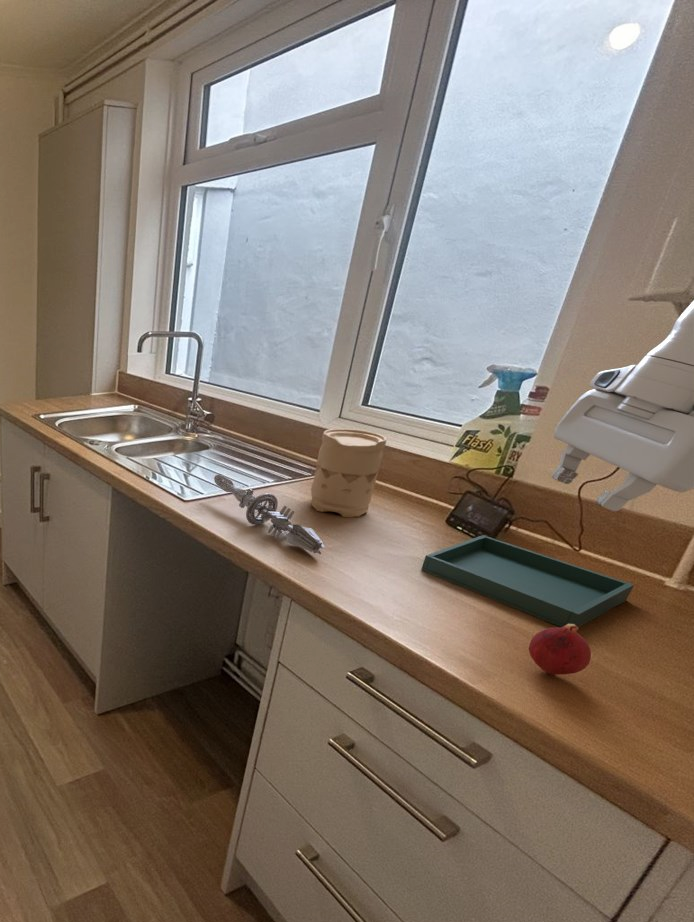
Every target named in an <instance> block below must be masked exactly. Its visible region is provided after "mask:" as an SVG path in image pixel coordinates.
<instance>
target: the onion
mask: <svg viewBox="0 0 694 922" xmlns="http://www.w3.org/2000/svg"><path fill="white" fill-rule="evenodd" d="M579 629H580V628H579V627H577V626H576V625H575V624H567V625H565V626H563V627H549V628H545V629H543V630H541V631H538V632H536V634H534V635H533V636H532V638H531V640H530V641H529V644H528V653H529V655H530V658H531V659H532V661H533V662H534V663H535V665H536V666H538V667H539V669H541V671H543V672H545V673H546V674H548V675H552V676H557V675H570V674H571V675H572V674H576V673H579V672H581V671H583V670H585V669H586V668H587V667H588V666H589V664H590V663H591V658H592V657H591V656H592V651H591V647H590V645H589V643H588V642H587V640H586V639H585V638H584V637H583V636H582V635H581V634H579V633H578V631H579Z"/></svg>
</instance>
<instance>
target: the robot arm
mask: <svg viewBox="0 0 694 922" xmlns="http://www.w3.org/2000/svg"><path fill="white" fill-rule="evenodd" d="M589 386H590V387H591V388H593V389H590V390H588V391H586V392H584V393H583V394H582V395H580V397H579V398H578V399H577V400H576V401H575V402H574V403H573V404H572V406H571V407H570V408H569V409H568V410H567V412H566V413H565V414H564V416H563V417H562V418H561V419H560V421H559V422H558V423H557V425H556V426H555V429H554V433H553V438H554V439H556V440H558V441H560V442H562V443H565V444H567V446H566V447H565V448H564V449H563V450H562V451H561V455H560V459H559V462H558V466H557V467H556V468H555V469H554V470H553V471H552V473H551V474H550V478H552V479H554V480H555V481H557V482H560V483H562V484H564V485H569V484H571V483H572V482H573V480H574V479H576V478H577V477H578V476H579V473H578V472H577V470H578V468H579V467H580V464H581V462H582V460H583V461H586V460H587V459H588V458H589V456H593V457H595V458H598V459H600V460H602V461H603V462H606V463H609V464H611V465H612V466H615V467H618V468H619V469H621V470H624V471H626V472H628V474H627V475H626V476H625V477H624V478H623V479H622V482H624V483H623V484H621V485H620V486H618V487H616V488H614V489H612V490H611V491H609V490H607V489H605V490H604V491H603V492H602V493H601V494H600V496H599V497H597V499H596V500H595V502H596V504H597V505H599V506H600V507H602V508H605V509H606V510H609V511H612V512H618V511H621V509H622V508H623V507H624V506H625V505H626V504H628V502H629V501H632V500H634V499H637V498H638V497H642V496H644V495H645V494H647V493H650V492H651V491H652V490H653V489H654V488H655V487H656V486H660V487H663V488H665V489H668V490H671V491H675V492H677V493H680V494H681V493H686V492H688V491H691V490H694V300H692V301H691V303H690V304H689V305H688V306H687V307H686V308H685V310H683V312H682V313H681V314H680V316H678V318H677V319H676V321H675V323H674V325H673V327H672V329H671V330H670V333H668V336H667V337H666V338H664V340H662V341H661V342H660V343H659V344H658V345H657V346H655V347H654V348H652V349H651V350H650V351H648V353H646V355H645V356H644V357H643V358H642V359H641V360H640V361H639V362H638V363H637V364H630V365H628V366H624V367H619V368H613V369H607V370H602V371H600V372H597V374H595V376H594V377H593V378H592V379H591V381H590V383H589Z"/></svg>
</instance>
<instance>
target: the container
mask: <svg viewBox="0 0 694 922" xmlns="http://www.w3.org/2000/svg"><path fill="white" fill-rule="evenodd" d="M387 439H388V438H387V437H386V436H384V435H382V434H380V433H377V432H372V431H368V430H362V429H353V428H329V429H326V430H324V431H323V433H322V437H321V441H322V442H321V445H320V448H319V451H318V455H317V460H316V467H315V471H314V476H313V481H312V484H311V487H310V488H311V489H310V495H311V500H310V504H311V505H312V507H313V508H314V509H315V510H316V511H317V512H320V513H327V512H330V513H331V512H334V513H337V514H340V515H341V517H343V518H356V517H357V518H359V517H360V516H362V515H364V514H365V513H367V512H368V511H369V508H370V504H371V500H372V497H373V494H374V490H375V485H376V482H377V477H378V474H379V470H380V466H381V462H382V459H383V456H384V451H383V450H384V449H385V447H386V443H387Z"/></svg>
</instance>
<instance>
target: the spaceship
mask: <svg viewBox="0 0 694 922" xmlns="http://www.w3.org/2000/svg"><path fill="white" fill-rule="evenodd" d="M213 481H214V483H215V484H216V486H217V487H219V488H220V489H221V490H222V491H224V492H225V493H231V494H232V495H233V496H234V497H235V499H236V500H237V501H238V502H239V504H238V506H239V508H241V509H245V507H246V512H245V516H246V517H245V518H246V520H247V522H248V523H249V524H250V525H254V526H259V525H263V524H265V523H266V524H268V525H269V526H270V527H269V529H268V530H267V534H270V536H271V537H274V539H278V538H279V537H280V536H281V534H285V533H286V534H285V538H286V542H287V544H289V545H290V544H291V545H293V546H296V547H298V548H301V549H304V550H306V551H309V552H311V553H313V554H319V555H321V554H322V552H321V551H320V549H322V550H323V549H325V548H326V546H325V544H324V543H323V541H322V539H321V537H319V536H318V534H317V533H316V531H314V529H313V528H311V527H305V526H302V525H301V524H299V523H297V522H296V521H294V520H293V519H292V517H293V515H294V514H295V511H294V510H292V509H291V508H290V507H288V506H287V505H284V506H283V507H282V508H281V509H280V510H279V511H277V509H278V506H279V505H278V504H279V502H278V498H277V496H276V495H275V494H273V493H269V492H266V493H262V494H259V495H257V496H255V495H253V494H254V490H253V489H252V488H247V490H245V489H242V488H238V487H237V486H236V485H235V483H234V481H232V480H231V479H230V478H228V477H227V476H225V475H223V474H216V475H215V476H214V477H213ZM267 504H268V505H267ZM269 520H270V522H271V523H272V524H271V523H269V522H268V521H269ZM289 520H290V521H293V522H294V523H293V524H292V523H291V522H290V521H289ZM295 523H296V524H295Z"/></svg>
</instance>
